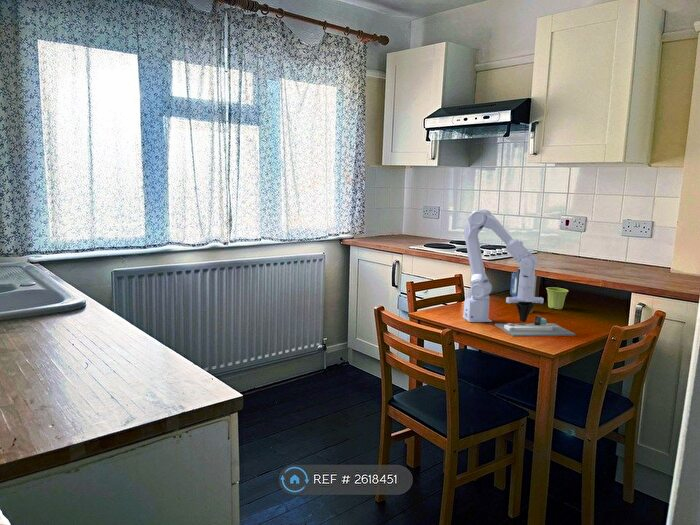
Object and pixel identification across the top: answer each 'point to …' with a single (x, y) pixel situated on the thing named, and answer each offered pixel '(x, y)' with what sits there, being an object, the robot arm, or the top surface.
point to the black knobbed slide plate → (537, 323)
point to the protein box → (516, 282)
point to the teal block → (543, 321)
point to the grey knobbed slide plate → (534, 330)
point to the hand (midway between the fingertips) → (522, 321)
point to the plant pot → (556, 297)
